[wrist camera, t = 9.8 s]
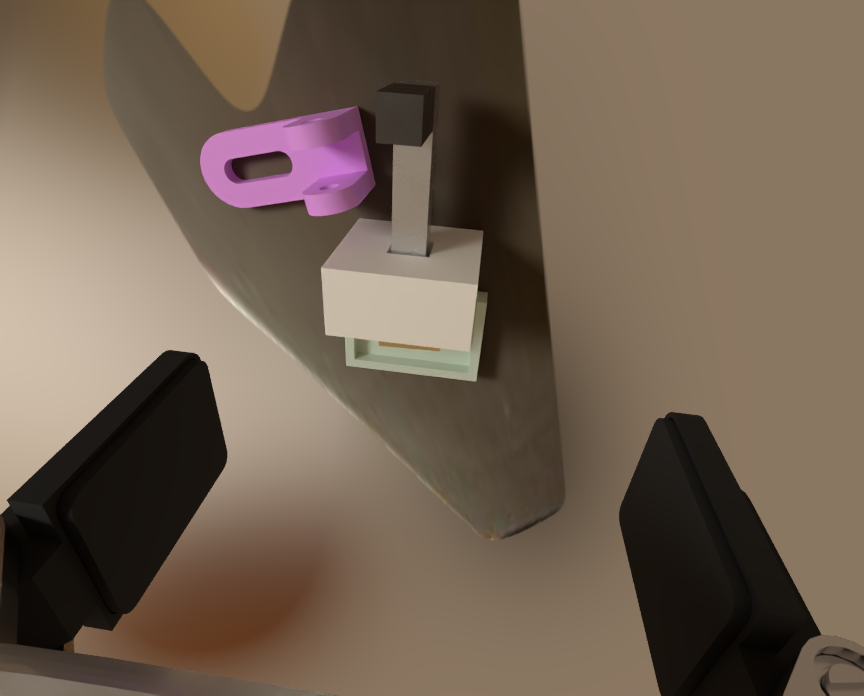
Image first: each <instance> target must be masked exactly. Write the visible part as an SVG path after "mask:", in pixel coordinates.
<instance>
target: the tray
mask: <svg viewBox="0 0 864 696" xmlns="http://www.w3.org/2000/svg"><path fill="white" fill-rule="evenodd" d="M487 296H488V292H481V291H477V297H476V305H475V313H474V321H473V329H472V337H471V345H470V352H466V351H458V350H449V349H441V348H440V351H430V350H419V349H408V348H397V347H386V346H379V341H374V340H365V339H357V338H348V337H345V348H346V366H354V367H362V368H370V369H378V370H386V371H395V372H403V373H411V374H419V375H427V376H435V377H443V378H452V379H460V380H468V381H476V379H477V372H478V365H479V358H480V350H481V343H482V336H483V329H484V322H485V314H486V307H487Z"/></svg>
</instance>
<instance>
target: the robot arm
mask: <svg viewBox="0 0 864 696" xmlns="http://www.w3.org/2000/svg"><path fill="white" fill-rule="evenodd" d="M226 461H227V449H226V444H225V440H224V435H223V431H222V427H221V422H220V418H219V414H218V409H217V405H216V401H215V396H214V392H213V388H212V383H211V379H210V374H209V370H208V366H207V364H206V363H205V362H204V361H201V360H200V357H199V356H198V355H197V354H195V353H189V352H181V351H172V350H168V351H165V352H164V353H162V354H161V355H160V356H159V357H158V358H157V359H156V360H155V361H154V362H153V363H152V364H151V365H150V366H149V367H147V368H146V369H145V370H144V371H143V372H142V373H141V374H140V375H139V376H138V377H137V378H136V379H135V380H134V381H133V382H132V383H131V384H130V385H128V387H126V388H125V389H124V390H123V391H122V392H121V393H120V394H119V395H118V396H117V397H116V398H115V399H114V400H112V401H111V402H110V403H109V404H108V405H107V406H106V407H105V408H104V409H103V410H102V411H101V412H100V413H99V414H98V415H97V416H96V417H94V418H93V420H91V421H90V422H89V423H88V424H87V425H86V426H85V427H84V428H83V429H82V430H81V431H80V432H79V433H78V434H76V435H75V436H74V437H73V438H72V439H71V440H70V441H69V442H68V443H67V444H66V445H65V446H64V447H63V448H62V449H61V450H59V451H58V452H57V453H56V454H55V455H54V456H53V457H52V458H51V459H50V460H49V461H48V462H47V463H46V464H45V465H44V466H43V467H41V468H40V469H39V470H38V471H37V472H36V473H35V474H34V475H33V476H32V477H31V478H30V479H29V480H28V481H27V482H26V483H25V484H24V485H22V486H21V487H20V488H19V489H18V490H17V491H16V492H15V493H14V494H13V495H12V496H11V497H10V498H9V499H8V500H7V501H8V503H9V504H10V506H9V507H8V508H7V509H6V510H5V511H4V512H3V513H2V514H1V515H0V696H336V695H331V694H325V693H318V692H313V691H307V690H301V689H295V688H289V687H283V686H277V685H271V684H265V683H259V682H253V681H247V680H241V679H235V678H229V677H223V676H216V675H211V674H204V673H198V672H192V671H186V670H180V669H174V668H168V667H162V666H156V665H150V664H144V663H137V662H131V661H125V660H119V659H113V658H107V657H100V656H93V655H86V654H79V653H74V637H75V635H76V634H77V633H78V631H79V630H80V629H81V627H82V626H83V625H84V626H86V627H93V628H99V629H104V630H110V631H112V630H113V629H114V627H115V626H116V624H117V623H118V621H119V619H120V618H121V616H122V615H123V614H127V613H129V612H131V611H132V610H133V609H134V607H135V606H136V605H137V603H138V602H139V600H140V599H141V597H142V596H143V594H144V592H145V591H146V589H147V588H148V586H149V585H150V583H151V582H152V580H153V578H154V577H155V575H156V574H157V572H158V571H159V569H160V567H161V566H162V564H163V563H164V561H165V560H166V558H167V556H168V555H169V553H170V552H171V550H172V549H173V547H174V546H175V544H176V542H177V541H178V539H179V538H180V536H181V534H182V533H183V532H184V530H185V528H186V527H187V525H188V524H189V522H190V521H191V519H192V517H193V516H194V514H195V513H196V511H197V510H198V508H199V506H200V505H201V503H202V502H203V500H204V499H205V497H206V496H207V494H208V492H209V491H210V489H211V488H212V486H213V485H214V483H215V481H216V480H217V478H218V477H219V475H220V474H221V472H222V471H223V469H224V467H225V464H226ZM619 521H620V526H621V531H622V535H623V539H624V544H625V548H626V552H627V556H628V561H629V565H630V569H631V573H632V578H633V582H634V585H635V590H636V594H637V599H638V603H639V607H640V611H641V615H642V620H643V624H644V628H645V632H646V636H647V641H648V645H649V649H650V653H651V658H652V662H653V666H654V670H655V675H656V679H657V683H658V687H659V691H660V694H661V696H864V647H862V646H860V645H859V644H857V643H855V642H852V641H850V640H847V639H843V638H841V637H838V636H828V635H821V633H820V631H819V629H818V627H817V625H816V624H815V622H814V620H813V618H812V616H811V614H810V612H809V611H808V609H807V607H806V605H805V603H804V601H803V599H802V597H801V595H800V593H799V592H798V589H797V588H796V586H795V584H794V582H793V580H792V578H791V576H790V574H789V573H788V571H787V569H786V567H785V565H784V563H783V561H782V559H781V557H780V556H779V554H778V552H777V550H776V548H775V546H774V544H773V543H772V540H771V538H770V537H769V535H768V533H767V531H766V529H765V527H764V525H763V524H762V521H761V520H760V518H759V516H758V514H757V512H756V510H755V508H754V506H753V504H752V502H751V501H750V499H749V498H748V496H747V495H746V493H745V492H744V491H742V490H741V489H740V487H739V485H738V483H737V481H736V479H735V477H734V475H733V473H732V472H731V470H730V468H729V466H728V464H727V462H726V460H725V458H724V456H723V454H722V452H721V450H720V448H719V447H718V445H717V443H716V441H715V439H714V437H713V435H712V433H711V432H710V429H709V427H708V425H707V423H706V421H705V420H704V419H703V417H701V416H698V415H690V414H682V413H674V412H670V413H668V414H667V415H666V417H665V418H658V419H657V420H656V422H655V423H654V426H653V428H652V431H651V433H650V436H649V438H648V441H647V443H646V445H645V448H644V450H643V453H642V455H641V458H640V460H639V462H638V465H637V467H636V470H635V472H634V475H633V477H632V479H631V482H630V485H629V487H628V489H627V492H626V494H625V497H624V499H623V501H622V504H621V507H620V512H619Z"/></svg>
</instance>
